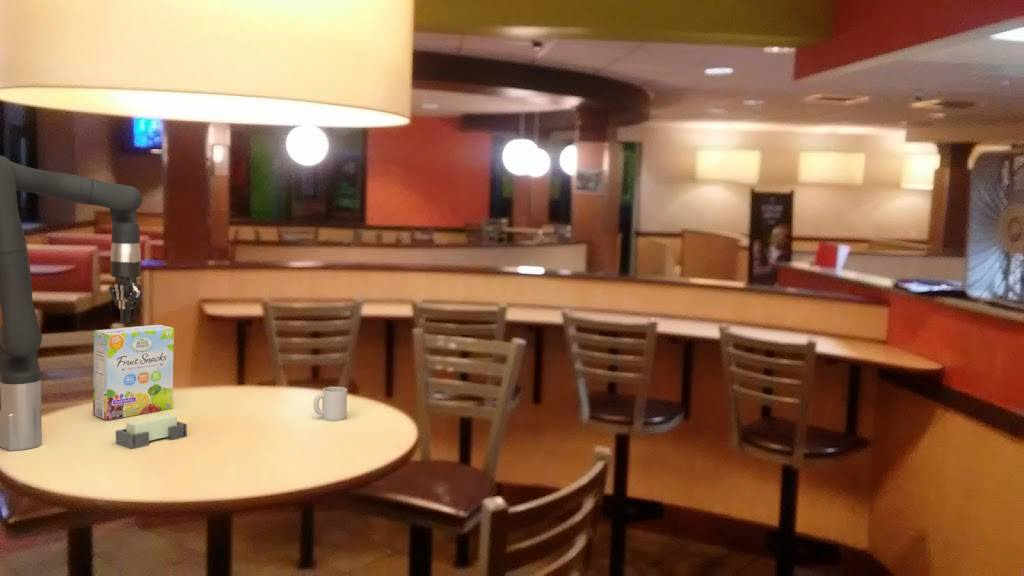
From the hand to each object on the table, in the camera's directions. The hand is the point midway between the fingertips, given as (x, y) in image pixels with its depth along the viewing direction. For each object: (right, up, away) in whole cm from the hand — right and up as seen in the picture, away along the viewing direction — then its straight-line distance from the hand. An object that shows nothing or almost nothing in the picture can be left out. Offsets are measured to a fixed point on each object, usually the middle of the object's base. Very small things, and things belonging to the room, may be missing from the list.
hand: (125, 322), depth 249 cm
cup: (+50, -30, +28) cm, 65 cm away
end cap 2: (+11, -31, +3) cm, 33 cm away
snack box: (-8, -28, +26) cm, 39 cm away
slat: (+8, -31, -2) cm, 32 cm away
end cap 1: (+4, -32, -6) cm, 33 cm away
